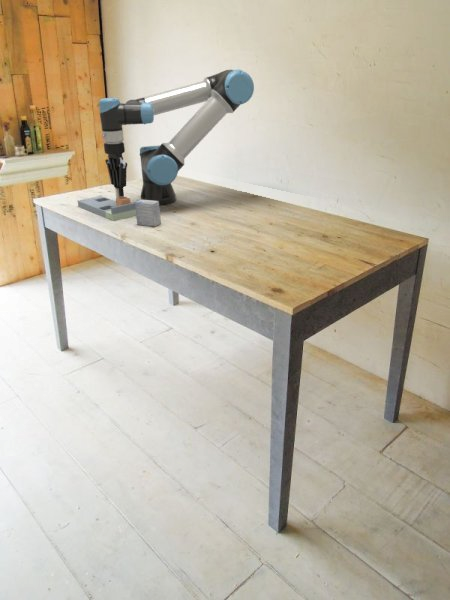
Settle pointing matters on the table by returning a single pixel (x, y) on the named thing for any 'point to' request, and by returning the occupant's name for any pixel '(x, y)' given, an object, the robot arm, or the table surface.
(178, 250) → the table surface
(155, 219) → the medicine box
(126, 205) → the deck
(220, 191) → the table surface
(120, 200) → the block
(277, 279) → the table surface
